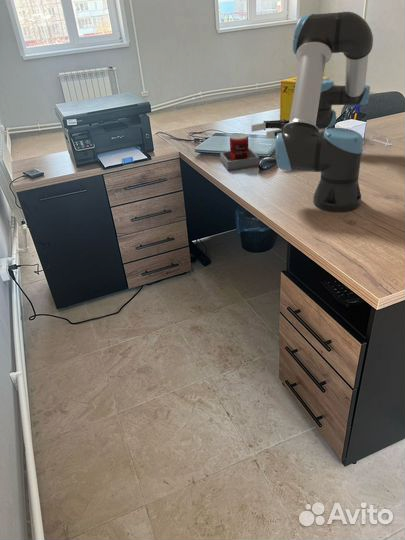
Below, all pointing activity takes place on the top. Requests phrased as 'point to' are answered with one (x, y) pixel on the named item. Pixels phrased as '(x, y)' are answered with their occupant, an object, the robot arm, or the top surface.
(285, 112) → the packaging box
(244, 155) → the canned food
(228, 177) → the top surface
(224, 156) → the charcoal bin
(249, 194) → the top surface
